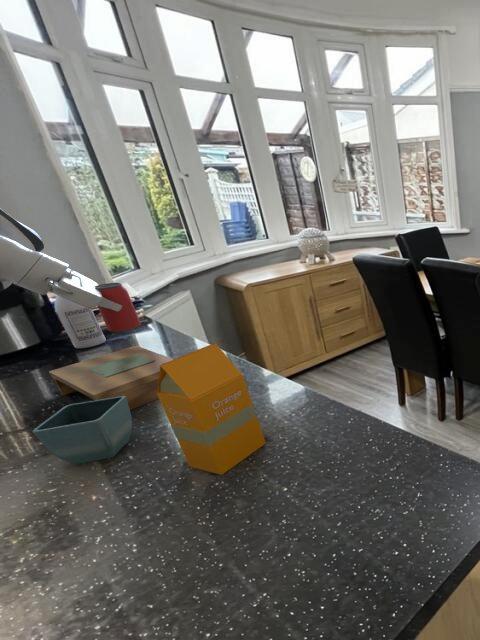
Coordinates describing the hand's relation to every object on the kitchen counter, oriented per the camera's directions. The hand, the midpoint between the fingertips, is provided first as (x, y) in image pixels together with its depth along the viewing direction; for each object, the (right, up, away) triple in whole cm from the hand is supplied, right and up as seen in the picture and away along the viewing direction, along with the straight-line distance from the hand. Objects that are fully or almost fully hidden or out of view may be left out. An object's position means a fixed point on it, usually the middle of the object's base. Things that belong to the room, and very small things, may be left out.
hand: (119, 305), depth 104 cm
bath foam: (-24, -11, +15) cm, 30 cm away
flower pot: (+30, -30, -33) cm, 54 cm away
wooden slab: (+13, -21, -11) cm, 27 cm away
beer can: (0, -6, +2) cm, 7 cm away
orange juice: (+54, -30, -34) cm, 70 cm away
